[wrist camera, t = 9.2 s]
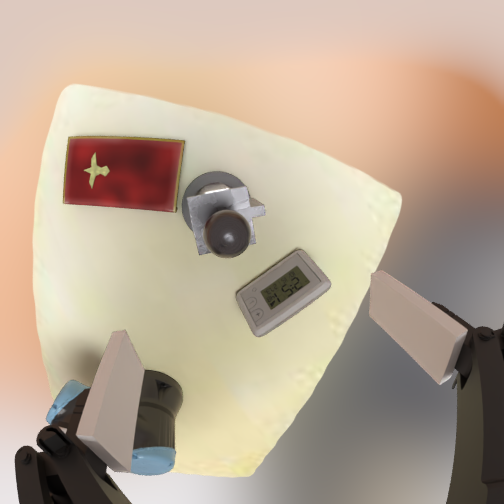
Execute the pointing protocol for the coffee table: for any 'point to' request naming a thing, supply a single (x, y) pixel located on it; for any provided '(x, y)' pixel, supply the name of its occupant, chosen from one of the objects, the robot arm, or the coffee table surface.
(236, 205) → the grey blocky piece
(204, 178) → the trivet
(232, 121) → the coffee table surface
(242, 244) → the ball knob lever
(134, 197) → the hardcover book
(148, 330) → the coffee table surface
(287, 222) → the coffee table surface
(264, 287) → the digital clock
